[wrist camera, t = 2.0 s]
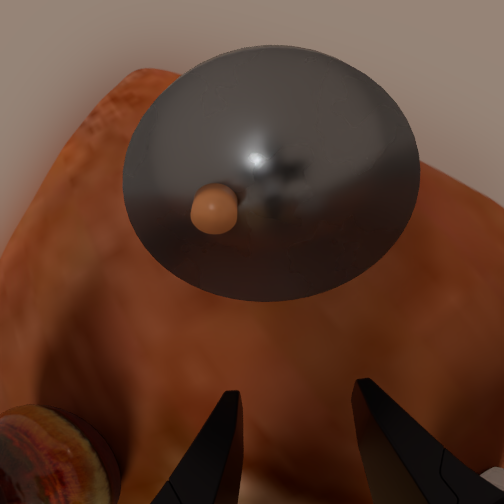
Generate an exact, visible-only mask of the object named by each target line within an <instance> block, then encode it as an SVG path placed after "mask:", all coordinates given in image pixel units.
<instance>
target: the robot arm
mask: <svg viewBox="0 0 504 504" xmlns="http://www.w3.org/2000/svg"><path fill="white" fill-rule="evenodd" d="M351 403H352V409H353V415H354V421H355V428H356V435H357V441H358V447H359V451H360V454H361V458H362V462H363V465H364V469H365V473H366V476H367V480H368V484H369V488H370V492H371V495H372V499H373V503H374V504H504V491H503V490H501V489H499V488H498V487H496V486H495V485H493V484H492V483H490V482H489V481H487V480H486V479H484V478H483V477H481V476H480V475H478V474H477V473H475V472H474V471H473V470H471V469H470V468H469V467H467V466H466V465H464V464H463V463H462V462H461V461H460V460H459V459H457V458H456V457H455V456H454V455H453V454H452V453H450V452H449V451H448V450H447V449H446V448H444V446H443V445H442V444H440V443H439V442H438V441H437V440H436V439H435V438H434V437H433V436H432V435H431V434H430V433H429V432H427V431H426V430H425V429H424V428H423V427H422V426H421V425H420V424H419V423H418V422H417V421H415V420H414V419H413V418H412V417H411V416H410V415H409V414H408V413H407V412H406V411H405V410H404V409H403V408H401V407H400V406H399V405H398V404H397V403H396V402H395V401H394V400H393V399H392V398H391V397H390V396H389V395H387V394H386V393H385V392H384V391H383V390H382V389H381V388H380V387H379V386H378V385H377V384H376V383H375V382H374V381H372V380H371V379H370V378H362V379H357V380H356V381H355V384H354V388H353V392H352V397H351ZM243 451H244V448H243V407H242V401H241V395H240V392H239V391H237V390H231V391H225V392H224V393H223V395H222V397H221V398H220V400H219V402H218V403H217V405H216V406H215V408H214V410H213V411H212V413H211V414H210V416H209V418H208V419H207V421H206V422H205V424H204V425H203V427H202V429H201V430H200V432H199V433H198V435H197V436H196V438H195V439H194V441H193V443H192V444H191V446H190V447H189V449H188V450H187V452H186V453H185V455H184V456H183V458H182V459H181V461H180V462H179V464H178V465H177V467H176V468H175V470H174V471H173V473H172V474H171V476H170V477H169V481H166V483H165V484H164V486H163V487H162V489H161V490H160V491H159V493H158V494H157V495H156V497H155V498H154V499H153V501H152V502H151V503H150V504H238V496H239V489H240V481H241V473H242V465H243Z"/></svg>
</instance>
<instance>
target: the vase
mask: <svg viewBox="0 0 504 504" xmlns="http://www.w3.org/2000/svg"><path fill="white" fill-rule="evenodd" d="M120 490H121V477H120V470H119V467H118V464H117V461H116V459H115V456H114V454H113V452H112V450H111V449H110V447H109V445H108V444H107V442H106V441H105V440H104V438H103V437H102V436H101V435H100V434H99V433H98V432H97V431H96V430H95V429H94V428H93V427H92V426H91V425H90V424H88V423H87V422H86V421H84V420H83V419H81V418H80V417H78V416H76V415H74V414H72V413H70V412H67V411H65V410H62V409H59V408H55V407H51V406H47V405H35V404H28V405H22V406H16V407H13V408H11V409H9V410H7V411H5V412H3V413H1V414H0V504H117V502H118V500H119V496H120Z"/></svg>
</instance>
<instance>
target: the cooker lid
mask: <svg viewBox="0 0 504 504" xmlns="http://www.w3.org/2000/svg"><path fill="white" fill-rule="evenodd" d="M419 184H420V162H419V153H418V149H417V145H416V141H415V137H414V135H413V132H412V130H411V128H410V126H409V123H408V121H407V119H406V117H405V116H404V114H403V113H402V111H401V110H400V108H399V107H398V105H397V104H396V102H395V101H394V100H393V99H392V98H391V97H390V96H389V95H388V93H386V91H385V90H384V89H383V88H382V87H381V86H379V85H378V84H377V83H376V82H374V81H373V80H372V79H370V78H369V77H368V76H367V75H366V74H364V73H362V72H361V71H359V70H357V69H355V68H354V67H352V66H350V65H348V64H346V63H344V62H343V61H340V60H339V59H337V58H334V57H332V56H329V55H327V54H324V53H321V52H318V51H315V50H311V49H305V48H301V47H295V46H284V45H263V46H254V47H246V48H241V49H237V50H234V51H230V52H227V53H223V54H220V55H218V56H216V57H213V58H211V59H209V60H207V61H204V62H202V63H200V64H198V65H197V66H195V67H194V68H192V69H190V70H189V71H187V72H186V73H184V74H183V75H181V76H180V77H179V78H178V79H177V80H175V81H174V82H173V83H172V84H171V85H170V86H169V87H168V88H167V89H166V90H164V91H163V93H162V94H161V95H160V96H159V97H158V98H157V99H156V100H155V101H154V103H153V104H152V105H151V106H150V108H149V109H148V110H147V112H146V113H145V114H144V115H143V117H142V119H141V120H140V122H139V124H138V126H137V128H136V130H135V131H134V133H133V135H132V138H131V141H130V144H129V146H128V149H127V152H126V157H125V163H124V168H123V194H124V201H125V206H126V210H127V213H128V216H129V219H130V222H131V224H132V226H133V228H134V230H135V232H136V234H137V236H138V237H139V239H140V240H141V242H142V244H143V245H144V247H145V248H146V249H147V250H148V251H149V252H150V254H151V255H152V256H153V257H154V258H155V259H156V260H157V261H158V262H159V263H160V264H161V265H162V266H164V267H165V268H166V269H167V270H168V271H170V272H171V273H173V274H174V275H175V276H177V277H178V278H180V279H182V280H184V281H185V282H187V283H189V284H191V285H193V286H195V287H197V288H200V289H202V290H204V291H207V292H210V293H213V294H216V295H219V296H223V297H228V298H232V299H238V300H245V301H259V302H272V301H286V300H294V299H299V298H304V297H309V296H312V295H316V294H319V293H323V292H325V291H328V290H330V289H333V288H336V287H338V286H340V285H342V284H344V283H346V282H348V281H350V280H352V279H353V278H355V277H357V276H358V275H360V274H362V273H363V272H364V271H366V270H367V269H368V268H370V267H371V266H372V265H374V264H375V263H376V262H377V261H378V260H379V259H380V258H382V257H383V256H384V255H385V254H386V253H387V252H388V250H389V249H390V248H391V247H392V246H393V245H394V243H395V242H396V241H397V239H398V238H399V236H400V235H401V234H402V232H403V231H404V229H405V227H406V225H407V223H408V221H409V219H410V217H411V215H412V212H413V209H414V206H415V204H416V200H417V195H418V191H419Z"/></svg>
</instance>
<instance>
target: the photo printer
mask: <svg viewBox="0 0 504 504" xmlns="http://www.w3.org/2000/svg"><path fill="white" fill-rule="evenodd" d="M480 476H481V477H483V478H484V479H486V480H487V481H489V482H490V483H492V484H493V485H495V486H496V487H498V488H499V489H501V490H503V491H504V469H503V468H499V467H493V468H491V469H489V470H487V471H485V472H484V473H482V474H481V475H480Z"/></svg>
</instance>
